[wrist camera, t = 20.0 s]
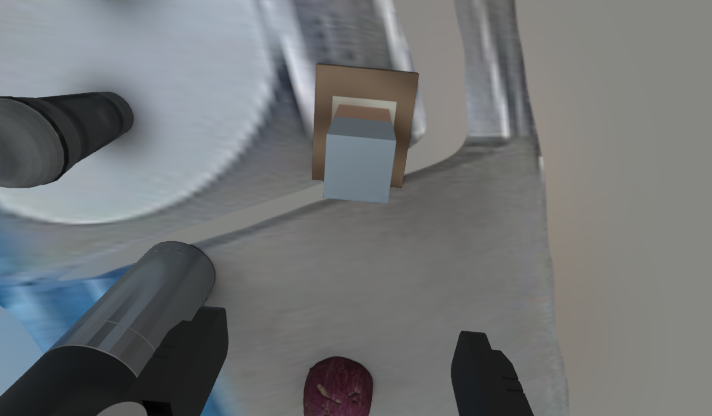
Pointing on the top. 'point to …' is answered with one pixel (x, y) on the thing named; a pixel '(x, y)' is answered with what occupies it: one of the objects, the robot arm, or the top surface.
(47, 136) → the beverage cup
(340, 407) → the vegetable
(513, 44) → the top surface
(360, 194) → the slate block
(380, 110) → the terracotta block
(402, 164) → the board
